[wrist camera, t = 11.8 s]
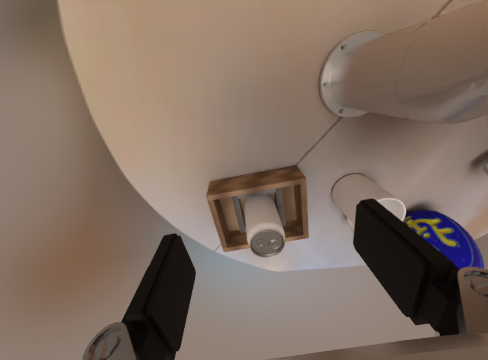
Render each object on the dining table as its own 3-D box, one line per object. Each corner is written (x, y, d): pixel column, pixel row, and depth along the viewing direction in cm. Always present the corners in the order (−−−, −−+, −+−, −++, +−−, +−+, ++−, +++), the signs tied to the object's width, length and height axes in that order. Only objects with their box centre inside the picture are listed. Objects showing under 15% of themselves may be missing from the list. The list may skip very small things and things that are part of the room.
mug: (359, 218, 46) (391, 251, 36) (325, 219, 46) (348, 253, 36) (372, 171, 41) (413, 196, 31) (334, 173, 40) (363, 199, 31)
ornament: (417, 195, 44) (498, 243, 30) (438, 214, 46) (521, 266, 33) (377, 227, 47) (434, 283, 34) (398, 243, 50) (459, 301, 36)
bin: (296, 165, 39) (305, 178, 34) (299, 219, 45) (308, 237, 40) (210, 181, 40) (206, 196, 34) (225, 232, 46) (223, 252, 41)
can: (270, 217, 43) (282, 260, 32) (242, 214, 43) (244, 257, 32) (276, 192, 41) (291, 230, 30) (246, 189, 40) (250, 227, 29)
